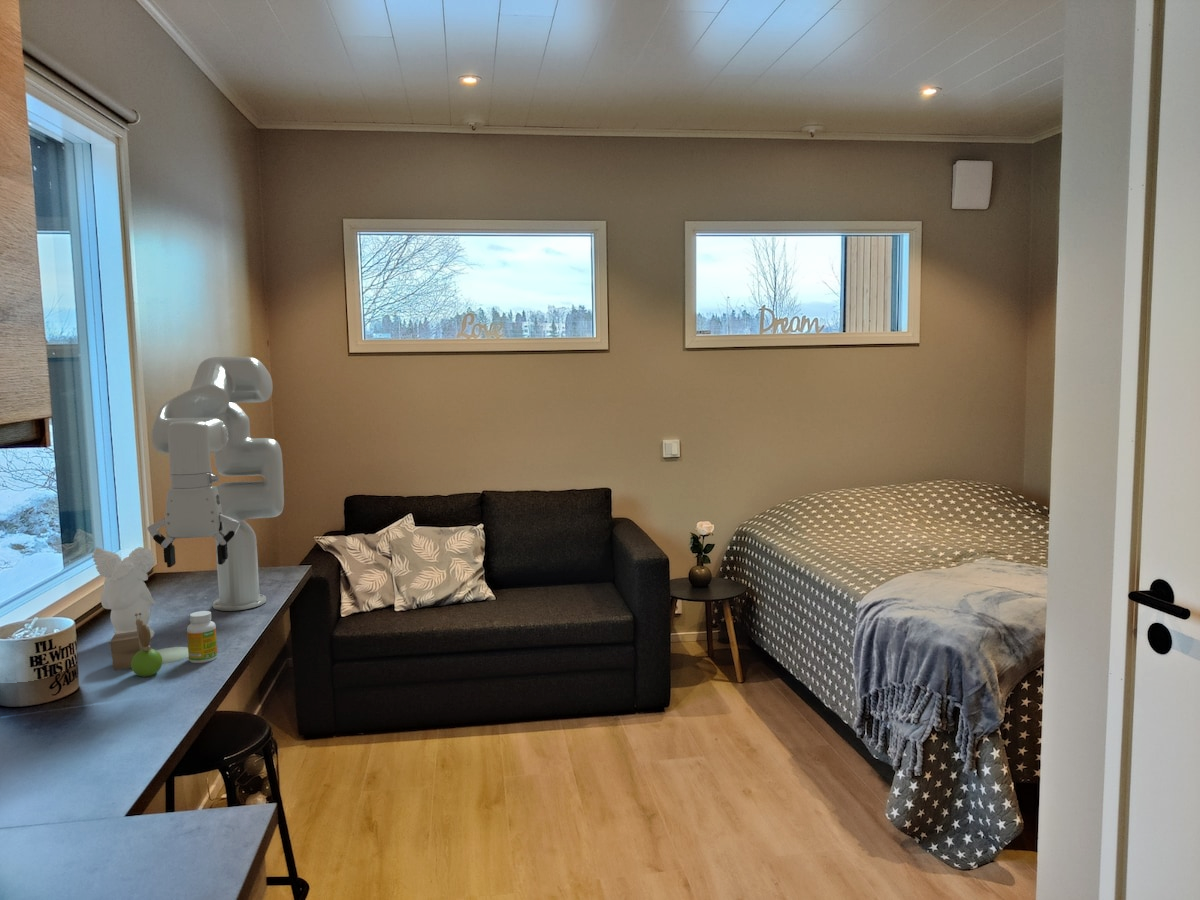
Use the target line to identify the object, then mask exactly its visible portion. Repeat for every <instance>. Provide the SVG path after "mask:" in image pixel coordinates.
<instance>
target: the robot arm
mask: <svg viewBox="0 0 1200 900" xmlns="http://www.w3.org/2000/svg"><path fill="white" fill-rule="evenodd" d="M273 386H274V385H273V379H272V375H271V374H270V372H269V370H268V369H267V368H266V367H265V365H264V364H263V362H262V361H260V360H259V359H257V358H255V357H253V356H252V357H251V356H216V357H210V358H206V359H204V360H203V361H202V362H200V364H199V365H198V366H197V368H196V373H195V375H194V377H193V380H192V384H191V386H190V389H189V390H186V391H184V392H182V393H180V394H178V395H177V396H175V397H173V398H172V399H169V400H168V401H166V402H165V403H164V404H163V405H161V407H160V408H159V410H158V412H157V414H156V416H155V418H154V421H153V425H152V429H151V443H152V446H153V447H154V449H155V450H156V451H157V452H159V453H160V454H164V455H168V460H169V461H168V462H169V474H170V477H169V478H170V488H169V489H167V494H166V501H165V511H164V512H165V514H164V518H162V519H160V520H158V521H156V522H154V523H153V524H151V525H149V526H147V530H148V532H149V535H150V536H152V540H153V541H154V542H156V543H157V545H158V544H159V545H160V547H161V548H162V549H163V560H164V561H163V562H164V563H165V564H166V567H167V568H171V567H173V566H174V565H176V551H175V549H176V548H175V544H173V542H175V540H176V539H192V538H208V537H209V538H210V537H211V538H212V537H213V539H214V540H215V554H216V569H217V571H216V572H217V584H218V585H217V586H218V598H217V599H216V600H214V601H213V602H212V607H213V609H214V610H217V611H223V612H228V611H229V612H232V611H234V612H235V611H243V610H248V609H253V608H256V607H260V606H262V605H264V604H265V603H267V596H266V595H264V594H262V593H260V583H259V582H260V580H259V579H260V578H259V563H258V562H259V560H258V559H259V558H258V547H257V543H258V541H257V535H256V533H255V531H254V528H252V527H251V525H250V524H249V523H248V522H247V521H246V520H249V519H251V520H252V519H268V518H276V517H279V516H280V515H281V514H282V513H283V510H284V506H285V490H284V489H285V487H284V466H283V463H284V462H283V453H282V452H283V451H282V449H281V446H280V443H279V442H278V440H276V439H273V438H270V437H259V438H254V437H253V438H252V437H251V428H250V427H251V426H250V425H251V424H250V423H251V422H250V418H249V416H248V415H247V413H246V412H245V411H244V410H243V409H242V407H241V406H239V405H238V404H241V403H242V404H243V403H244V404H247V403H248V404H249V403H250V404H251V403H265V402H267V401H269V400H270V399H271V397H272V394H273V389H274V387H273ZM211 454H214V455H213V456H214V466H215V469H216V472H217V473H218V474H217V475H216V474H214V473H213V471H212V458H211V456H212V455H211ZM220 475H221V476H223V477H249V476H250V477H253V476H260V477H263V479H264V480H254V481H253V480H251V481H248V480H247V481H246V480H243V481H242V480H241V481H228V482H227V481H226V482H221V483H218V484H216V485H214V483H216V482H220ZM163 526H165V527H164V528H165V534H166V537H165V536H164V535H163V534H161V533H160V531H159V529H160V528H161V527H163Z"/></svg>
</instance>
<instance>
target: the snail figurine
mask: <svg viewBox="0 0 1200 900" xmlns="http://www.w3.org/2000/svg"><path fill="white" fill-rule="evenodd" d="M141 614H142V613H139V615H141ZM135 616H136V625H137V635H138V640H139V644H140V646H141V648H142V650H140V651H138V652H137V653H136V654H135V655H134V656H133V658H132V661H131V668H130V669H131V670H132V672H133V673H134V675H136V676H138V677H143V678H145V677H151V676H153V675H156V673H158V672H159V670H160V669H161V667H162V666H163V664H162V656H161V654H160V653H159V652H158V651H156V650H157V649H154V648H152V647H151V646H150V645H151V644H150V643H151V639H152V638H151V635H150V630H151V629H150V628H149V627H148V626H147V625H143V620H142V619H141V618H140V619H137V616H138V614H137V613H136V614H135ZM149 629H150V630H149Z"/></svg>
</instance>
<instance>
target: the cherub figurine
mask: <svg viewBox="0 0 1200 900" xmlns="http://www.w3.org/2000/svg"><path fill="white" fill-rule="evenodd" d="M92 553H93V554H92V555H91V558H93V562H94V565H95V566H96V567H95V569H96V571H97V572H98V574H99V575H100V576H102V577H104V578H105V579H104V581H103V588H102V592H101V596H100V600H101V601H100V602H101V603H100V604H101V606H102V607H103V608H104V609H105V610H111V611H110V618H109V619H110V621H111V622H110V623H111V626H113V628H114V630H113V634H114V635H115V634H120V633H127V632H134V631H137V625H136V616H135V614H136V613H137V614H138V616H137V619H140V618H141V619H142V620H143V625H147V626H148V627H149V630H150V635H151V639H152V638H154V636H155V631H154V630H152V629H150V628H151V625H150V624H149V621H150V618H151V607H150V606H155V605H156V602H155V600H154V599H153V597H152V594H151V591H150V590H149V588H148V586H147V584H146V583H145V581H148V579H149V577H148V575H149V574H148V573H149V572H150V571H151V570H152V568H153V567H154V565H155V562H156V559H155V557H154V554H153V552H152V550H151V549H150V548H148V547H147V548H146V547H141V546H139V547H137V548H135V549H134V550H132V551H131V552H130V553H129V554H128V556H127V557H124V558H123V559H122V558H121V557H120V556H119V554H117V553H115V552H113V551H110V550H104V549H102V548H100V547H98V546H97V547H96V548H95V549H94V550H92ZM139 613H142V614H141V615H139ZM112 638H113V637H111V638H110V641H111V640H112Z"/></svg>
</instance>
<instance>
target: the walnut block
mask: <svg viewBox="0 0 1200 900" xmlns="http://www.w3.org/2000/svg"><path fill="white" fill-rule="evenodd" d="M111 639H112V640H111ZM111 639H110V641H109V645H110V653H111V660H112V668H113V671H119V670H120V671H121V670H127V669H132V668H131V661H132V658H133V656H134V655H135V654H136V653H137V652H138V651H140V650H142V648H141V646H140V644H139V640H138V635H137V631H134V632H127V633H120V634H114V635H113V638H112V637H111Z"/></svg>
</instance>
